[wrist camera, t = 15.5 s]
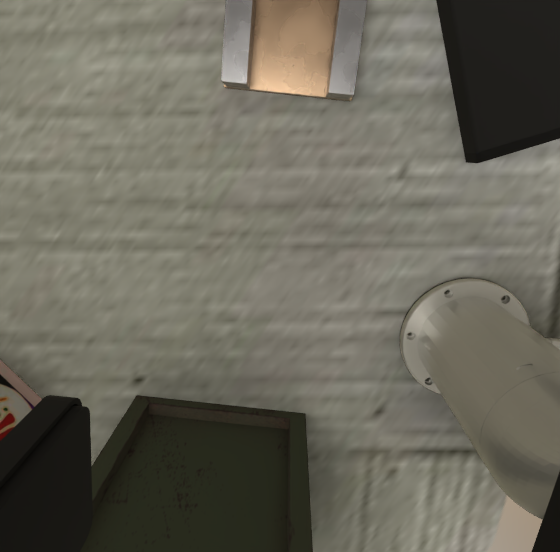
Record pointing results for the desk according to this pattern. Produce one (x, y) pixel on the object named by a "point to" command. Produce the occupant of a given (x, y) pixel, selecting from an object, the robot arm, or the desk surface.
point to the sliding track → (293, 46)
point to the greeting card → (14, 400)
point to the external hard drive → (503, 73)
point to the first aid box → (202, 481)
